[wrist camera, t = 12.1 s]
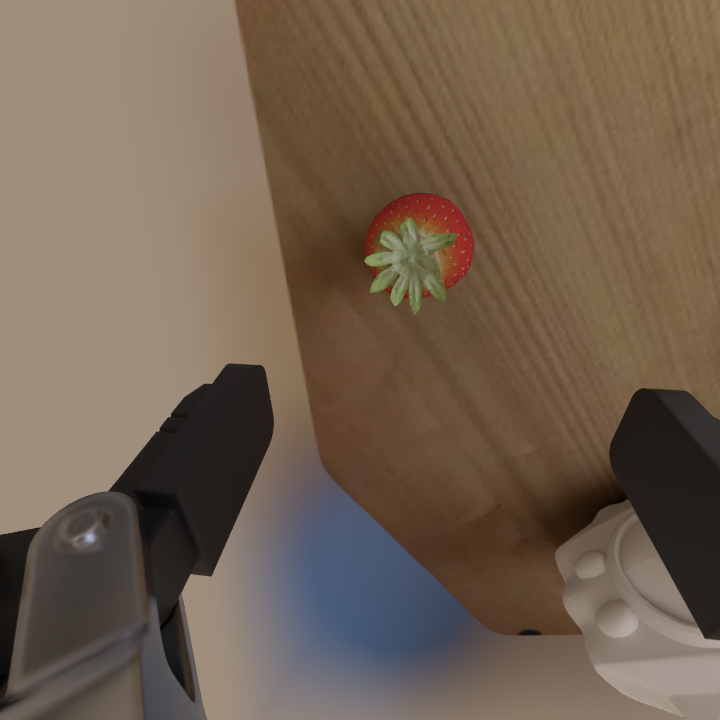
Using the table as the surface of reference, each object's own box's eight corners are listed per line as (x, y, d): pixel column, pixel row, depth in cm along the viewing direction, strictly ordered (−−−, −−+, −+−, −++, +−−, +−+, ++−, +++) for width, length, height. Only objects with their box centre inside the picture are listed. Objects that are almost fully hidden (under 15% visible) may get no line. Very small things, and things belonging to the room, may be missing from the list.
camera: (797, 493, 31) (1089, 785, 17) (576, 559, 39) (661, 795, 25) (751, 407, 27) (1077, 694, 14) (517, 500, 35) (580, 740, 22)
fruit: (368, 185, 22) (349, 217, 15) (465, 173, 21) (488, 202, 15) (377, 270, 25) (364, 330, 18) (463, 264, 24) (482, 323, 17)
